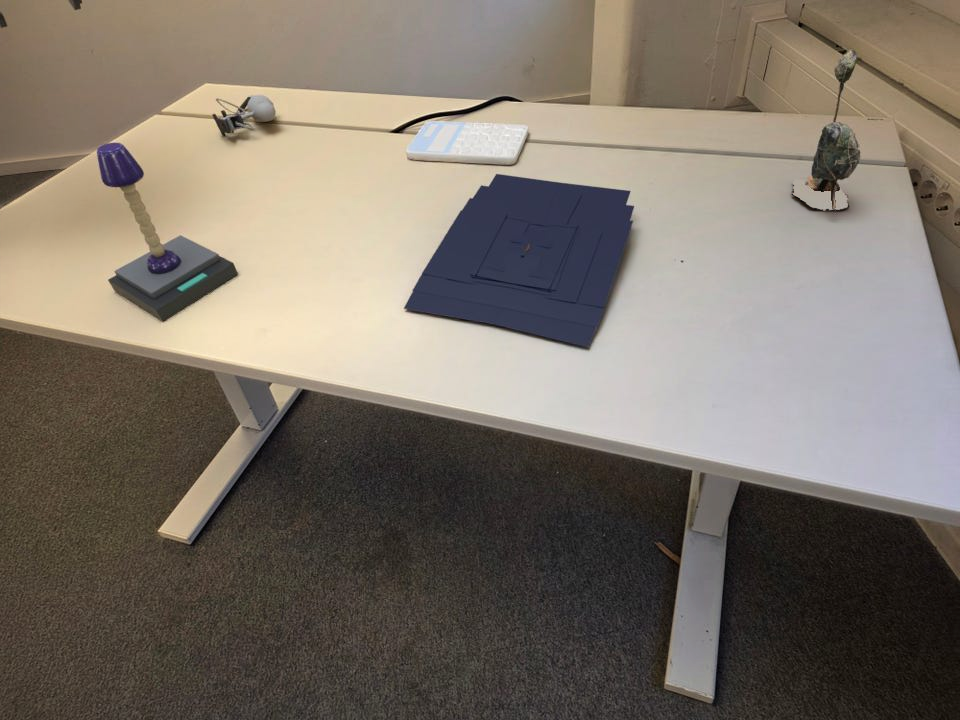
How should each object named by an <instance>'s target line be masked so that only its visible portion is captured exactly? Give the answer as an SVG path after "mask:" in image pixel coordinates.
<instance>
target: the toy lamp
mask: <svg viewBox="0 0 960 720" xmlns="http://www.w3.org/2000/svg"><path fill="white" fill-rule="evenodd" d="M96 157H97V162H98V163H97V164H98V168H99V173H100V177H101V182H102V184H104V185H105V186H106V187H109V188H119V189H120V190H121V192H123V196H124V200H125V201H126V202H127V203H128V204H129V209H130V211H131V213H132V214H133V217H134V220H135V222H136V224H138V225H139V226H138V227H139V231H140V233H141V235H143V237H144V242H145V243H146V244H147V245H148V250H149V252H151V253H152V254H151V255H150V257H149V258H148V260H147V268H148V270H149V271H150V272H152V273H155V274H162V273H166V272H169V271H172V270H174V269H175V268H177V267H178V266H179V264H180V263H181V259H180V258H179V256H178V255H177V254H176V253H174V252H173V251H170V250H164V247H163V244H162V243H161V239H160V236H159V234H158V233H157V232H156V231H157V230H156V227H155V225H154V223H153V222H152V218H151V216H150V214H149V212H148V211H147V207H146V205H145V203H144V201H143V200H142V196H141V194H140V192H139V190H137V185H136V183H138V182H140V181H141V180H142V179H143V177H144V176H145V172H144V170H143V168H142V167H141V165H140V164H139V162H137V160H136V159H135V157H134V156H133V155H132V153H130V151H129V150H128V148H127V147H126V146H125V145H124V144H123V143H120V142H109V143H104V144H101V145H100V146H99V147H98V148H96Z"/></svg>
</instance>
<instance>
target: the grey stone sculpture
mask: <svg viewBox="0 0 960 720" xmlns="http://www.w3.org/2000/svg"><path fill="white" fill-rule="evenodd" d="M857 57H858V53H857V52H856V51H855V49H848V50H847V51H846V52H845V53H844V54H842V57H841V58H840V59H839V60H837V63H836V65H835V68H834V69H833V70H834V71H833V72H834V76H835V78H836V80H837V81H838V83H839V89H838V90H839V91H838V94H837V102H836V108H835V112H834V117H833V121H832V122H830V123H828V124H826V125H824V126H823V129H821V135H820V136H819V140H818V142H817V143H818V144H817V146H816V152H815V155H814V157H813V162H812V165H811V173H810V174H811V176H808V177H806V178H807V179H806V181H805V185H807V186H809V187H810V188H811V189H813V190H814V191H821V192H824V191H831V201H832V209H835V208H836V200H835V192H836V191H839V190H840V187H839V186H840V184H839V183H838V181H839V180H840V181H843V180H845V179H848V178H849V177H850V176H851V175H852V174H853V173H854V172H855V170H856V169H857V167H858V165H859V162H860V159H861V157H862V155H861V146H860V143H859V141H858V140H857V137H856V133H855V131H854V129H853V128H852V127H851V126H850V125H848V124H847V123H842V122H840V121H839V122H837V117H838V112H839V107H840V101H841V95H842V93H843V90H844V87H845V84H846V83H847V82H848V81H850V79H851V77H852V75H853V72H854V70H855V68H856V64H857Z"/></svg>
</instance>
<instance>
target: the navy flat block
mask: <svg viewBox="0 0 960 720" xmlns="http://www.w3.org/2000/svg"><path fill="white" fill-rule="evenodd" d="M631 192H632V191H631V190H626V189H618V188H610V187H602V186H601V187H600V186H593V185H584V184H576V183H567V182H558V181H551V180H544V179H537V178H531V177H522V176H515V175H507V174H500V173H495V175H494V177H493V178H492V180H491V182H490V183H489V185H483V184H482V185H480V186H479V187H478V189H477V191H476V192H475V194H474V195H473V197H469V198H468V200H467V201H466V203H465V205H464V206H463V208H462V209H461V210H460V211H459V212H458V214H457V216H456V217H455V219H454V220H453V222H452V223H451V225H450V227H449V229H448V230H447V232H446V234H445V235H444V237H443V238H442V240H441V241H440V243H439V245H438V247H437V248H436V250H435V251H434V252H433V254H432V256H431V258H430V259H429V261H428V262H427V264H426V266H425V268H424V269H423V271H422V273H421V275H420V276H419V278H418V280H417V282H416V284H415V285H414V287H413V288H412V292H411V294H410V296H409V298H408V300H407V301H406V303H405V305H404V307H403V309H404V310H410V311H415V312H421V313H427V314H433V315H437V316H438V315H439V316H444V317H450V318H455V319H462V320H468V321H473V322H478V323H485V324H490V325H495V326H499V327H503V328H508V329H512V330H515V331H520V332H524V333H528V334H532V335H536V336H540V337H543V338H544V337H545V338H548V339H551V340H556V341H559V342H560V341H561V342H564V343H567V344H572V345H577V346H580V347H584V348H589V347H590V345H591V342H592V340H593V337H594V335H595V332H596V329H597V328H599V325H600V322H601V319H602V317H603V313H604V311H605V309H606V304H607V301H608V298H609V295H610V293H611V289H612V286H613V283H614V280H615V278H616V274H617V271H618V269H619V266H620V264H621V260H622V257H623V254H624V251H625V248H626V246H627V243H628V239H629V236H630V232H631V229H632V226H633V222H634V221H633V220H631V219H632V215H633V212H634V209H635V205H632V204H631V205H629V204H627V203H628V200H629V198H630V196H631V195H630V194H631Z"/></svg>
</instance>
